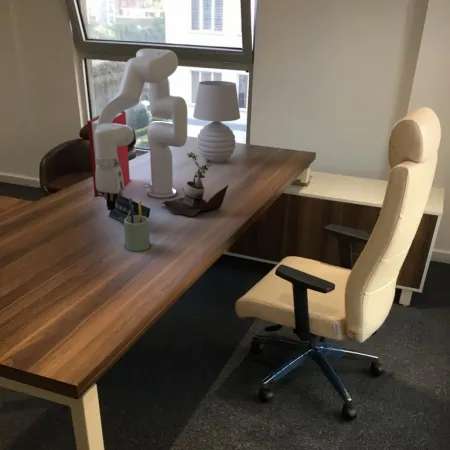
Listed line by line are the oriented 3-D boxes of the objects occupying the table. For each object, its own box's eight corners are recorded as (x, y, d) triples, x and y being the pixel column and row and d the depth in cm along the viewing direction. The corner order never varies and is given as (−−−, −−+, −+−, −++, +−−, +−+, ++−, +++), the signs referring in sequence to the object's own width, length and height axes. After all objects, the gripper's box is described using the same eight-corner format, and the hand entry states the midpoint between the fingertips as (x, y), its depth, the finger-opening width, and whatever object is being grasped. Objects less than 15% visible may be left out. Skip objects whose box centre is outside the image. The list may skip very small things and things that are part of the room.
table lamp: (238, 166, 278) (242, 87, 258) (191, 165, 278) (191, 85, 258) (238, 155, 300) (241, 80, 280) (194, 153, 300) (194, 79, 280)
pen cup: (121, 249, 181) (117, 199, 172) (132, 240, 188) (129, 192, 179) (143, 252, 179) (140, 203, 170) (153, 243, 186) (151, 195, 177)
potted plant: (190, 202, 232) (207, 150, 219) (218, 224, 223) (238, 170, 211) (157, 205, 218) (173, 149, 205) (185, 228, 209) (204, 171, 196)
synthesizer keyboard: (152, 208, 192) (126, 202, 188) (146, 233, 195) (120, 228, 190) (137, 198, 211) (113, 192, 206) (131, 221, 213) (108, 216, 208)
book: (112, 197, 228) (106, 122, 212) (94, 196, 229) (87, 121, 213) (130, 179, 252) (126, 111, 236) (114, 178, 253) (109, 110, 237)
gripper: (130, 162, 194) (133, 208, 203) (95, 157, 198) (99, 203, 207) (120, 167, 188) (124, 214, 197) (84, 162, 192) (89, 209, 201)
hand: (111, 209), depth 202 cm, fingers closed
